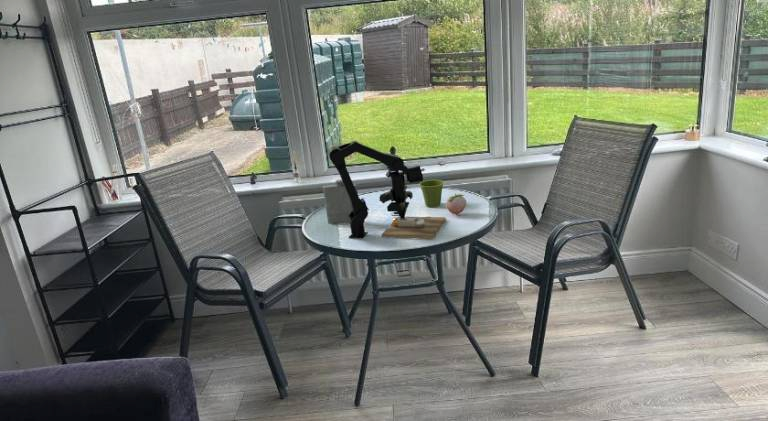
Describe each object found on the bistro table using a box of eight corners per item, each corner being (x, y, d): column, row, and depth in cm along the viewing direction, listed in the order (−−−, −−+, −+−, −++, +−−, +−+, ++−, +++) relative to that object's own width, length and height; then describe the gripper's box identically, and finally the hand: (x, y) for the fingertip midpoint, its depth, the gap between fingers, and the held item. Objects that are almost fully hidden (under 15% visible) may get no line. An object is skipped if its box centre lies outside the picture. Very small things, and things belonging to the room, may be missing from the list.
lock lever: (425, 224, 215) (425, 218, 214) (422, 228, 211) (422, 221, 210) (395, 223, 220) (394, 216, 219) (391, 226, 217) (391, 219, 216)
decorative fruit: (455, 210, 235) (454, 189, 232) (469, 213, 229) (468, 191, 226) (442, 216, 229) (441, 195, 226) (456, 219, 223) (455, 197, 220)
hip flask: (327, 223, 236) (321, 182, 229) (329, 220, 239) (323, 179, 233) (360, 222, 232) (355, 180, 226) (362, 219, 236) (357, 178, 230)
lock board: (433, 239, 203) (432, 235, 203) (381, 237, 211) (381, 233, 211) (445, 220, 223) (445, 217, 222) (398, 219, 231) (397, 216, 230)
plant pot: (419, 209, 242) (417, 186, 238) (423, 202, 252) (421, 180, 249) (443, 209, 238) (442, 186, 235) (447, 201, 249) (445, 179, 246)
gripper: (386, 179, 224) (390, 212, 229) (373, 192, 208) (377, 228, 213) (411, 178, 220) (414, 212, 226) (399, 192, 204) (403, 228, 209)
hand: (402, 219), depth 218 cm, fingers closed
